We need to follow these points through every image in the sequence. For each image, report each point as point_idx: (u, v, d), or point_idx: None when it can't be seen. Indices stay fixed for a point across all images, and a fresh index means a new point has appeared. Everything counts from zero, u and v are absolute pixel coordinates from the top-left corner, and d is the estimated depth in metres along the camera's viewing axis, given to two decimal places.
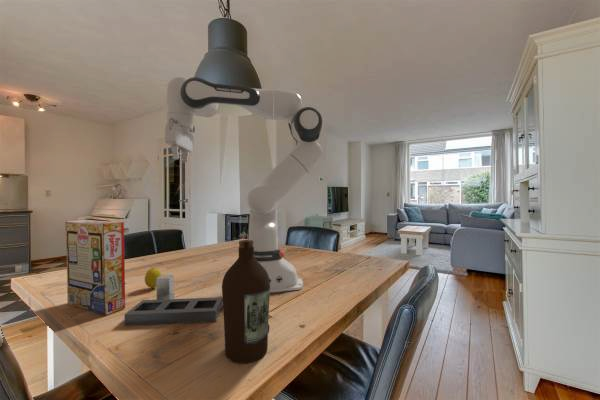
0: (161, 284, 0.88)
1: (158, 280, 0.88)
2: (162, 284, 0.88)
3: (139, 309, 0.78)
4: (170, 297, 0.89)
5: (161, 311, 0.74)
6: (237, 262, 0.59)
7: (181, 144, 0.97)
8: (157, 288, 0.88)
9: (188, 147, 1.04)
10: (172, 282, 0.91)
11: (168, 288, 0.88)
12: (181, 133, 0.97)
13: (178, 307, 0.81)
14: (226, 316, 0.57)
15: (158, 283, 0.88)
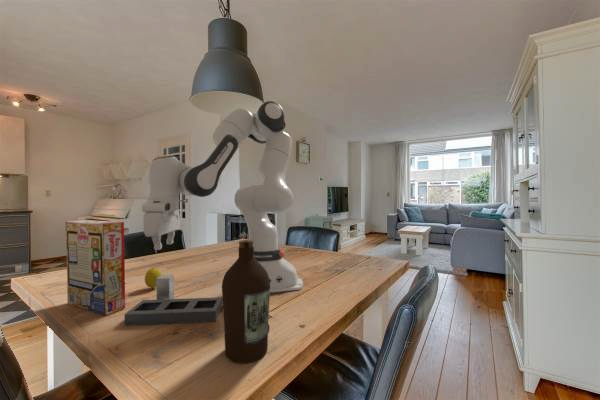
0: (161, 284, 0.88)
1: (158, 280, 0.88)
2: (162, 284, 0.88)
3: (139, 309, 0.78)
4: (170, 297, 0.89)
5: (161, 311, 0.74)
6: (237, 262, 0.59)
7: None
8: (157, 288, 0.88)
9: None
10: (172, 282, 0.91)
11: (168, 288, 0.88)
12: None
13: (178, 307, 0.81)
14: (226, 316, 0.57)
15: (158, 283, 0.88)
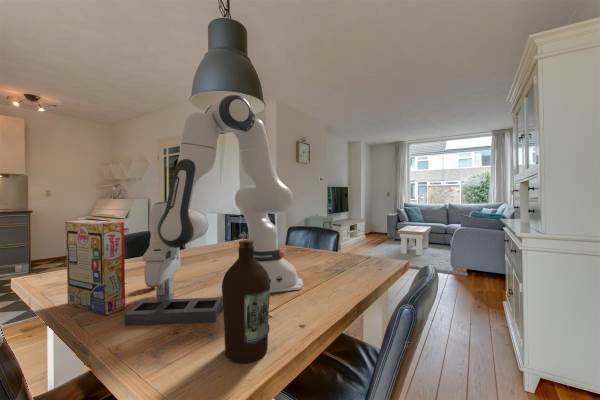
0: None
1: None
2: None
3: (139, 309, 0.78)
4: (170, 297, 0.89)
5: (161, 311, 0.74)
6: (237, 262, 0.59)
7: None
8: (157, 288, 0.88)
9: None
10: (172, 282, 0.91)
11: (168, 288, 0.88)
12: None
13: (178, 307, 0.81)
14: (226, 316, 0.57)
15: None
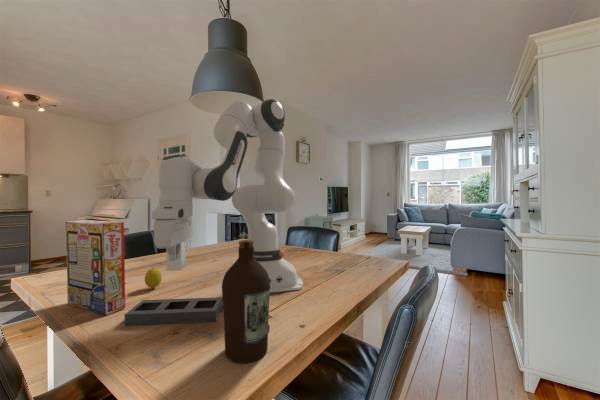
0: None
1: None
2: None
3: (139, 309, 0.78)
4: (182, 264, 0.77)
5: (161, 311, 0.74)
6: (237, 262, 0.59)
7: None
8: (167, 253, 0.76)
9: None
10: (184, 248, 0.79)
11: (180, 254, 0.76)
12: None
13: (178, 307, 0.81)
14: (226, 316, 0.57)
15: None
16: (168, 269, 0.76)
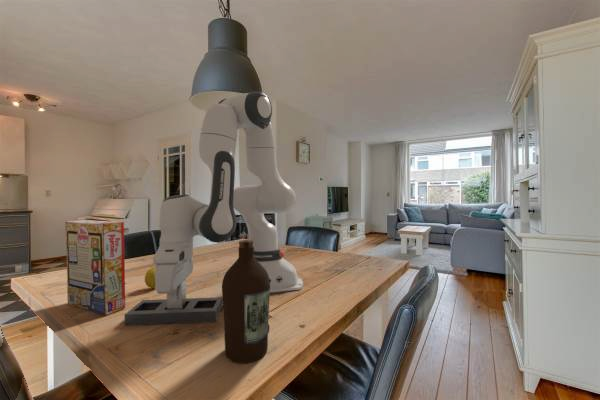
0: None
1: None
2: None
3: (139, 309, 0.78)
4: (182, 305, 0.77)
5: (161, 311, 0.74)
6: (237, 262, 0.59)
7: None
8: None
9: None
10: (184, 287, 0.79)
11: (181, 294, 0.76)
12: None
13: None
14: (226, 316, 0.57)
15: None
16: None
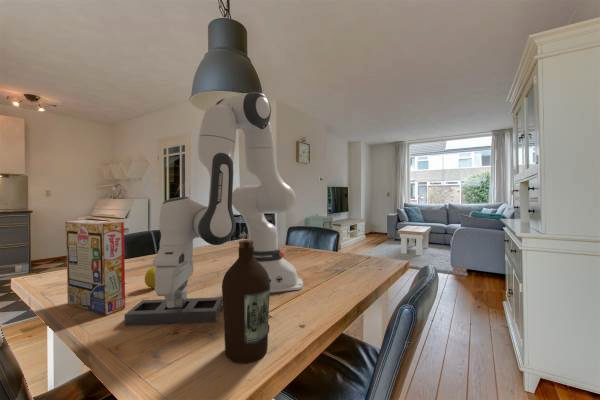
0: None
1: None
2: (174, 297, 0.77)
3: (139, 309, 0.78)
4: None
5: (161, 311, 0.74)
6: (237, 262, 0.59)
7: None
8: None
9: None
10: (185, 294, 0.80)
11: (181, 302, 0.77)
12: None
13: None
14: (226, 316, 0.57)
15: None
16: None
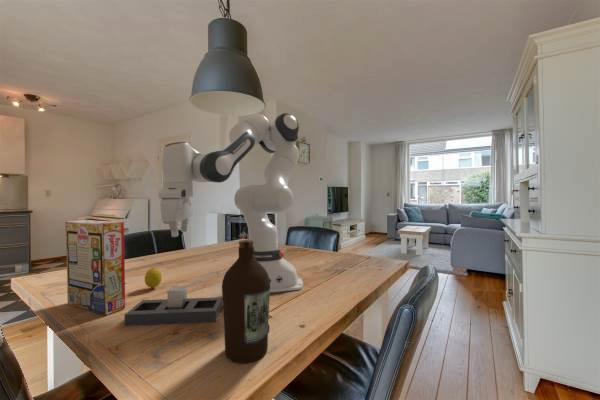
0: (173, 297, 0.77)
1: (169, 293, 0.76)
2: (174, 297, 0.77)
3: (139, 309, 0.78)
4: None
5: (161, 311, 0.74)
6: (237, 262, 0.59)
7: None
8: (168, 302, 0.76)
9: None
10: (185, 294, 0.80)
11: (181, 302, 0.77)
12: None
13: None
14: (226, 316, 0.57)
15: (169, 296, 0.76)
16: None
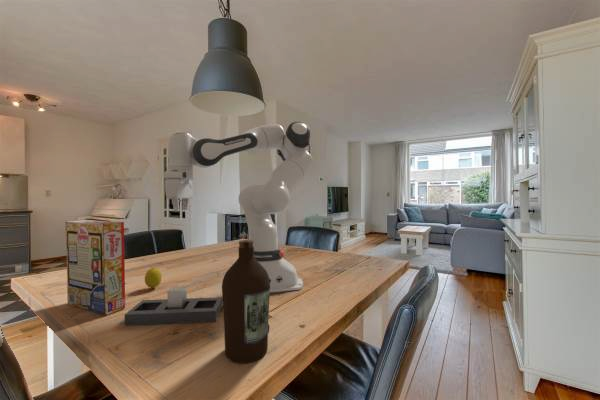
0: (173, 297, 0.77)
1: (169, 293, 0.76)
2: (174, 297, 0.77)
3: (139, 309, 0.78)
4: None
5: (161, 311, 0.74)
6: (237, 262, 0.59)
7: None
8: (168, 302, 0.76)
9: None
10: (185, 294, 0.80)
11: (181, 302, 0.77)
12: None
13: None
14: (226, 316, 0.57)
15: (169, 296, 0.76)
16: None
